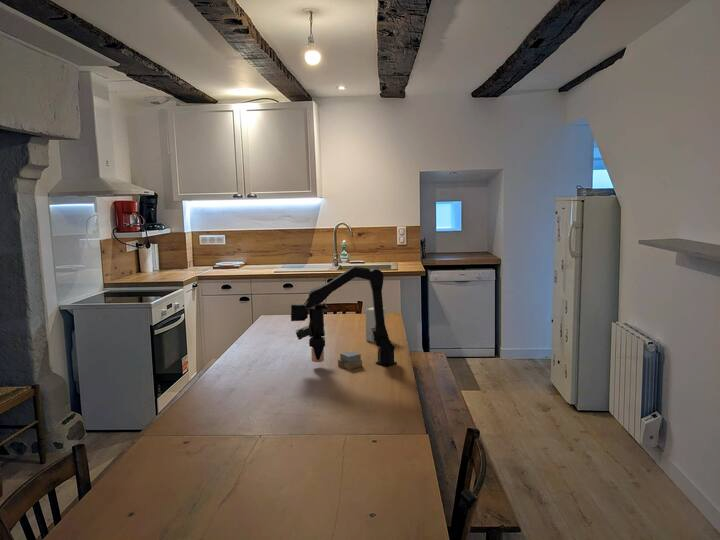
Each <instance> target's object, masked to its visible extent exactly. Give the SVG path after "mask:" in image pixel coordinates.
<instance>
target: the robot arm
mask: <svg viewBox="0 0 720 540" xmlns="http://www.w3.org/2000/svg"><path fill="white" fill-rule="evenodd" d="M355 278H358V279H359V278H360V279H363V280H366V281H368V284H369V286H370V289H371V296H372V308H374V319H375V326H374V328H371V331H372V339H373V341H375V342H374V343H375V345H376V346H377V347H378V349H377V361H375V364H377V365H380V366H383V367H385V368H386V367H389V366H393V365H396V364H398V362H397V361H395V345H394V344H393V342H392V341H391V340H390V337H389V333H388V330H387V326H386V322H385V323H384V312H383V308H384V303H383V293H382V292H383V286H384V273H383V271H382V270H381V269H379V268H377V267H372V268H366V267H360V266H357V265H353V266H351V267H350V268H348V269H347V270H346V271H344V272H342V273H341V274H339V275H338V276H336V277H334V278H333V279H332V280H330V281H328V282H327V283H324V284H322V285H319V286H317V287H314V288H312V289H311V290H310V291H309V292H308V298H307V299H306V300H305V302H304V304H303V303H302V304H301V303H299V304H298V303H297V304H296V303H291V304H290V306H291V307H290V322H302V321H303V322H305V321H306V320H307V319H308V318H309V322H308V325H306V326H303V327H300V328H299V329H296V330H295V334H296V337H297V339H298V340H299V341H300V340H302V339H304V338H306V337H308V338H309V340H308V346H309V347H310V348H314V352H315V356H316V360H319V359H320V356H321V354H322V351H323V348H325V347H326V338H325V336H326V335H325V334H326V332H325V321H324V319H325V318H324V317H325V315H324V314H325V313H324V312H325V311H324V310H329V307H328V305H326V303H325V302H324V301H325V300H326V299H327V298H328V297H329V296H330V295H331V294H332V293H333V292H334V291H336V290H337V289H340V288H341V287H343V286H344V285H345V284H347V283H349V282H350V281H351V280H353V279H355ZM308 311H309V313H308ZM308 314H309V315H308Z"/></svg>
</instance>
